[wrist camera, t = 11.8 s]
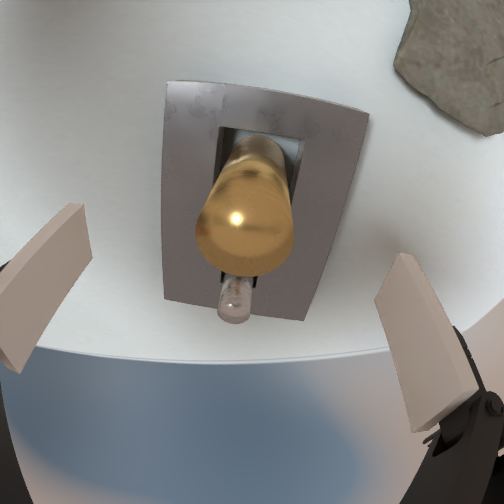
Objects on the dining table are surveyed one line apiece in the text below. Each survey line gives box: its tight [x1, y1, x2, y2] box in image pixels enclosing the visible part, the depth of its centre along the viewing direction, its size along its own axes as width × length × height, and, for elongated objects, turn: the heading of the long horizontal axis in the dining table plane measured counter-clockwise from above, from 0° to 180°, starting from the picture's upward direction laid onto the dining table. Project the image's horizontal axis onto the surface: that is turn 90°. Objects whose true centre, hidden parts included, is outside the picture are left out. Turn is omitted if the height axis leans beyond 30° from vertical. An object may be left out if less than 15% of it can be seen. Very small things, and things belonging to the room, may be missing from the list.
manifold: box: [161, 80, 369, 324], centre depth 22 cm, size 20×14×8 cm
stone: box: [393, 0, 504, 137], centre depth 13 cm, size 18×5×15 cm
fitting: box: [195, 135, 294, 277], centre depth 18 cm, size 4×4×12 cm
